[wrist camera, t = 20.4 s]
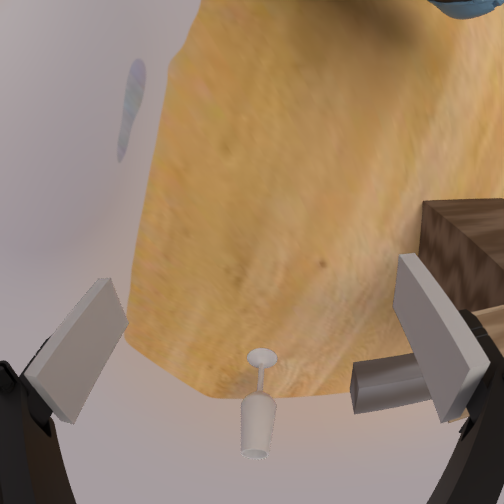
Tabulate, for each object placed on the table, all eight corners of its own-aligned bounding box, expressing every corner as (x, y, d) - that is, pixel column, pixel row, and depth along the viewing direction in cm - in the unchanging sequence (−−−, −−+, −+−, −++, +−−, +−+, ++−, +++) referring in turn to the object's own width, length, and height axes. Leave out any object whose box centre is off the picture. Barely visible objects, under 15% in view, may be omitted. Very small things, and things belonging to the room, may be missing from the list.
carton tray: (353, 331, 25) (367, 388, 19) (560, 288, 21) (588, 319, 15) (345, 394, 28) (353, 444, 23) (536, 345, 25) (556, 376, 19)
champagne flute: (280, 350, 63) (279, 448, 42) (273, 370, 66) (269, 463, 45) (249, 345, 63) (238, 443, 42) (244, 365, 66) (232, 458, 45)
